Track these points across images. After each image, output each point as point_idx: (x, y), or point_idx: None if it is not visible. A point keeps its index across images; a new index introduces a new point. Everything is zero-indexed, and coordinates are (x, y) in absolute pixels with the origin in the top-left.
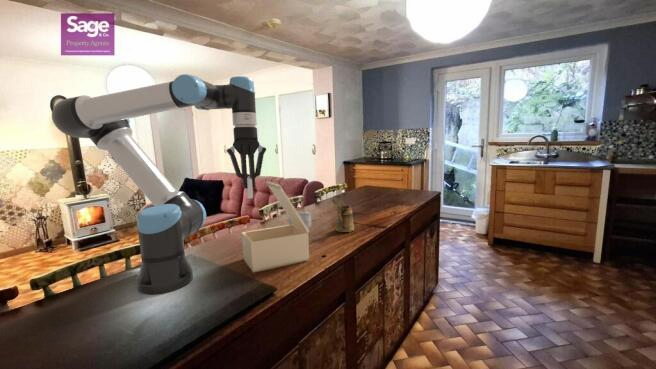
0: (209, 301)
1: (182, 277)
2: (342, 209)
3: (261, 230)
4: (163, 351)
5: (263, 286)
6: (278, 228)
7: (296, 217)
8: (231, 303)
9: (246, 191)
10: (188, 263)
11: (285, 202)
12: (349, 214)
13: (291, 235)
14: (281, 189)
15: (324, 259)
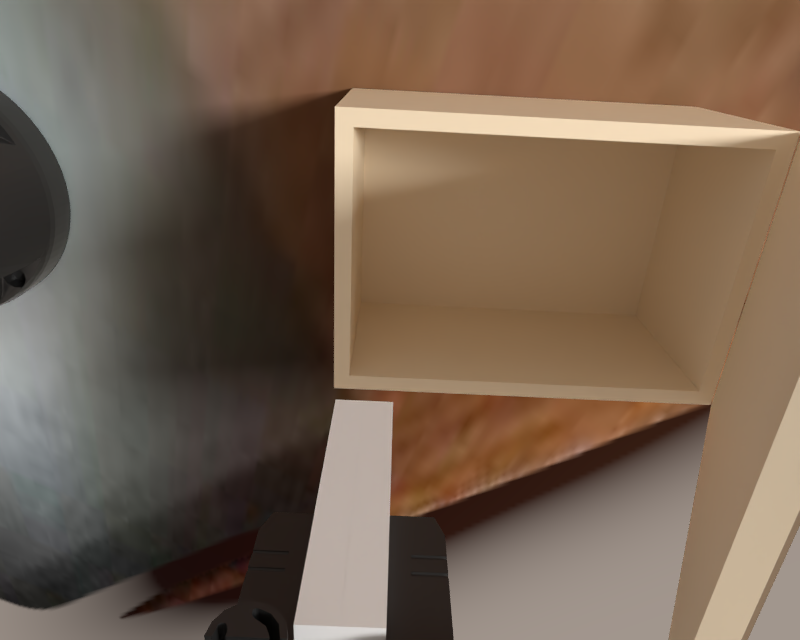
0: (152, 444)
1: (13, 288)
2: None
3: (497, 134)
4: (53, 592)
5: None
6: (643, 142)
7: (714, 425)
8: (222, 489)
9: (326, 451)
10: (8, 232)
11: (714, 473)
12: None
13: (600, 390)
14: None
15: None
